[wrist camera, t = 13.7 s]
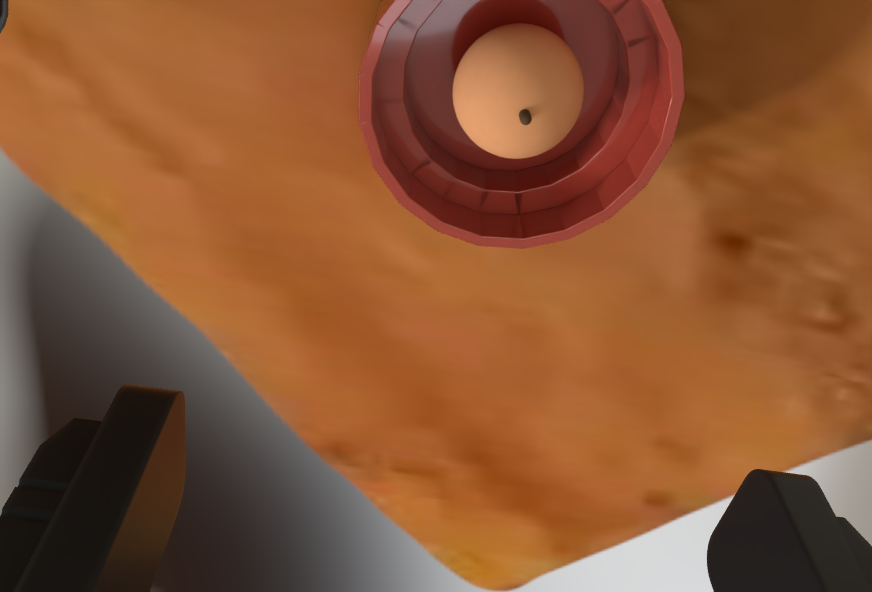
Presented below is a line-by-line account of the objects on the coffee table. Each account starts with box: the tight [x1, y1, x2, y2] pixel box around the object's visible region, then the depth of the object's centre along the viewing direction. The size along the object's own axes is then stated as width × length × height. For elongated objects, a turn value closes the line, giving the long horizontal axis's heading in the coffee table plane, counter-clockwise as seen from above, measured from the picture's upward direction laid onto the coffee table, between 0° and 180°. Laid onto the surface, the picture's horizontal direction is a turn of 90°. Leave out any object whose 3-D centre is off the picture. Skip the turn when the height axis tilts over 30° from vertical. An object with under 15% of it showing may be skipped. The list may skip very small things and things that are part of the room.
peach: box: [453, 23, 584, 159], centre depth 34 cm, size 6×6×7 cm
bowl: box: [358, 0, 685, 249], centre depth 35 cm, size 14×14×6 cm
